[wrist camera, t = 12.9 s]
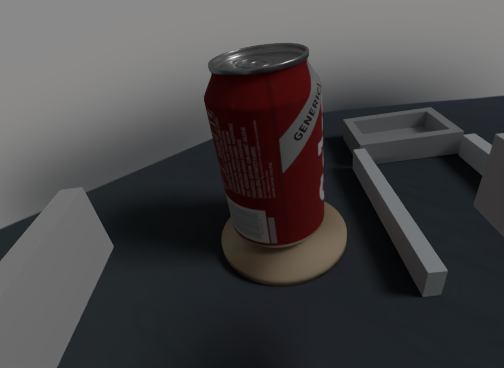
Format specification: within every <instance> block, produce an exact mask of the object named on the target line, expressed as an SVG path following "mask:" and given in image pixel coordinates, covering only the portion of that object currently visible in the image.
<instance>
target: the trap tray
mask: <svg viewBox="0 0 504 368" xmlns="http://www.w3.org/2000/svg"><path fill="white" fill-rule="evenodd" d="M463 134H464V131H463V130H461V129H460V128H459V127H457V126H456V125H455V124H453V123H452V122H450V121H449V120H448V119H446V118H445V117H444V116H442V115H441V114H439V113H438V112H437V111H435V110H434V109H433V108H431V107H430V108H422V109H415V110H408V111H401V112H394V113H387V114H379V115H372V116H365V117H358V118H351V119H343V139H344V141H345V143H346V145H347V146H348V148H349V150H350V151H351V153H352V155H353V150H355V149H363V148H365V149H366V151H367V152H368V154H369V155H370V157H371V158H372V160H373V161H374V163H375V164H380V163H388V162H396V161H404V160H411V159H419V158H427V157H435V156H442V155H450V154H458V153H459V150H460V146H461V142H462V138H463Z"/></svg>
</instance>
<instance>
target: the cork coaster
mask: <svg viewBox="0 0 504 368" xmlns="http://www.w3.org/2000/svg"><path fill="white" fill-rule="evenodd" d="M221 241H222V248H223V251H224V254H225V258H226V259H227V261H228V263H229V264H230V266H231V267H232V268H233V269H234V270H235V271H236V272H237V273H239V274H240V275H242V276H243V277H245V278H247V279H249V280H251V281H254V282H257V283H260V284H265V285H271V286H291V285H298V284H302V283H306V282H309V281H311V280H314V279H316V278H318V277H320V276H322V275H324V274H325V273H327V272H328V271H329V270H331V269H332V268H333V267H334V266H335V265H336V264H337V263H338V261H339V260H340V259H341V257H342V255H343V253H344V251H345V248H346V241H347V230H346V225H345V222H344V220H343V218H342V217H341V215H340V214H339V213H338V211H337V210H336V209H335V208H333V207H332V206H331V205H329V204H328V203H326V202H324V220H323V223H322V225H321V227H320V228H319V230H318V231H317V232H316V233H315V234H314V235H313V236H311V237H310V238H308V239H307V240H305V241H303V242H301V243H298V244H296V245H292V246H288V247H282V248H267V247H260V246H257V245H254V244H251V243H249V242H247V241H245V240H244V239H242V238H241V237H240V236H239V235H238V234H237V232H236V231H235V229H234V226H233V223H232V218H231V217H230V218H229V219H228V221H227V222H226V224H225V226H224V229H223V232H222V239H221Z"/></svg>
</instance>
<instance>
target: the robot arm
mask: <svg viewBox="0 0 504 368" xmlns="http://www.w3.org/2000/svg"><path fill="white" fill-rule="evenodd" d="M473 206H474V207H475V208H476V209H477V210H478V211H479V212H480V213H481V214H482V215H483V216H484V217H485V218H486V219H487V220H488V221H489V222H490V223H491V224H492V225H493V226H494V227H495V228H496V229H497V230H498V231H499V232H500V234H501V235H502V236H503V237H504V133H502V134H496V135H495V138H494V141H493V145H492V148H491V151H490V154H489V157H488V160H487V163H486V166H485V170H484V173H483V176H482V179H481V182H480V185H479V188H478V192H477V195H476V198H475V201H474V204H473ZM113 248H114V246H113V244H112V242H111V240H110V238H109V237H108V235H107V233H106V231H105V229H104V227H103V225H102V223H101V221H100V220H99V218H98V216H97V214H96V212H95V210H94V208H93V206H92V205H91V203H90V201H89V199H88V197H87V195H86V193H85V191H84V189H83V188H82V187H80V188H73V189H64V190H60V191H59V192H58V193H57V194H56V196H55V197H54V198H53V199H52V200H51V201H50V203H49V204H48V205H47V206H46V208H45V209H44V210H43V211H42V212H41V213H40V215H39V216H38V217H37V218H36V219H35V221H34V222H33V223H32V224H31V225H30V227H29V228H28V229H27V230H26V231H25V233H24V234H23V235H22V236H21V237H20V238H19V240H18V241H17V242H16V243H15V244H14V246H13V247H12V248H11V249H10V250H9V252H8V253H7V254H6V255H5V256H4V258H3V259H2V260H1V261H0V368H57V366H58V364H59V362H60V360H61V358H62V355H63V353H64V351H65V349H66V347H67V345H68V343H69V341H70V339H71V336H72V334H73V332H74V330H75V328H76V326H77V324H78V322H79V319H80V317H81V315H82V313H83V311H84V309H85V307H86V305H87V303H88V300H89V298H90V296H91V294H92V292H93V290H94V288H95V286H96V284H97V281H98V279H99V277H100V275H101V273H102V271H103V269H104V267H105V264H106V262H107V260H108V258H109V256H110V254H111V252H112V250H113Z"/></svg>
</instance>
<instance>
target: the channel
mask: <svg viewBox="0 0 504 368" xmlns="http://www.w3.org/2000/svg"><path fill="white" fill-rule="evenodd" d="M491 148H492V145H490V144H489V143H488V142H486V141H485V140H483V139H482V138H481V137H479V136H478V135H476V134H468V135H463V138H462V142H461V146H460V150H459V154H458V155H459V156H460V157H461V158H462V159H463V160H464V161H466V162H467V163H468V164H469V165H470V166H471V167H473V168H474V169H475V170H476V171H477V172H478V173H480V174H481V175H482V176H483V173H484V170H485V166H486V163H487V160H488V157H489V154H490V151H491ZM353 170H354V172H355V174H356V176H357V178H358V180H359V181H360V183H361V185H362V187H363V189H364V191H365V192H366V194H367V196H368V198H369V200H370V201H371V203H372V205H373V207H374V209H375V211H376V212H377V214H378V216H379V218H380V220H381V222H382V223H383V225H384V227H385V229H386V231H387V233H388V234H389V236H390V238H391V240H392V242H393V244H394V245H395V247H396V249H397V251H398V253H399V255H400V256H401V258H402V260H403V262H404V264H405V266H406V267H407V269H408V271H409V273H410V275H411V277H412V278H413V280H414V282H415V284H416V286H417V288H418V289H419V291H420V293H421V295H422V297H426V296H436V295H441V293H442V290H443V286H444V283H445V279H446V276H447V272H448V270H447V269H446V267H445V266H444V264H443V263H442V261H441V260H440V259H439V257H438V256H437V254H436V253H435V251H434V250H433V248H432V247H431V245H430V244H429V242H428V241H427V239H426V238H425V236H424V235H423V233H422V232H421V231H420V229H419V228H418V226H417V225H416V223H415V222H414V220H413V219H412V217H411V216H410V214H409V213H408V211H407V210H406V208H405V207H404V205H403V204H402V203H401V201H400V200H399V198H398V197H397V195H396V194H395V192H394V191H393V189H392V188H391V186H390V185H389V183H388V182H387V180H386V179H385V177H384V176H383V175H382V173H381V172H380V170H379V169H378V167H377V166H376V164H375V163H374V161H373V160H372V158H371V157H370V155H369V154H368V152H367V151H366V149H365V148H363V149H355V150H353Z"/></svg>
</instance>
